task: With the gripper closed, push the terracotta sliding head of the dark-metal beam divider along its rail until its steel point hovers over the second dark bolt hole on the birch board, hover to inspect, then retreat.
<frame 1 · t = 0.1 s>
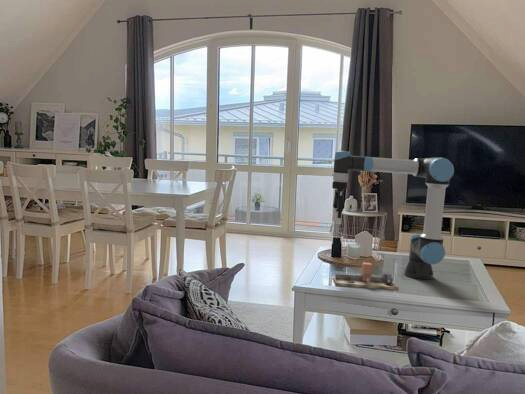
hand: (336, 222, 249), 28 cm above the table, fingers open, 13 cm apart
bolt board: (364, 284, 238), on the table
sliding head: (367, 272, 238), point 6 cm above the table, slide at -1.0 cm
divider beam: (364, 284, 238), resting on bolt board
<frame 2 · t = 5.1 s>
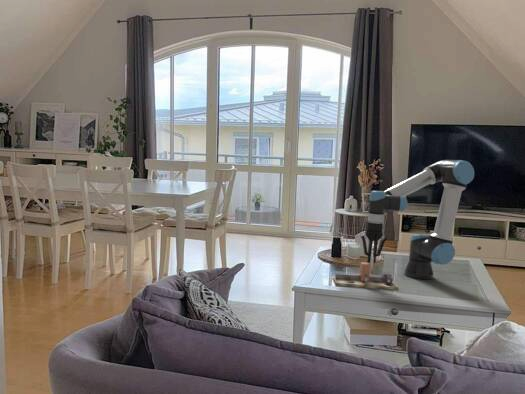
hand: (370, 269, 240), 7 cm above the table, fingers closed
sliding head: (365, 272, 238), point 6 cm above the table, slide at -0.2 cm, touching gripper
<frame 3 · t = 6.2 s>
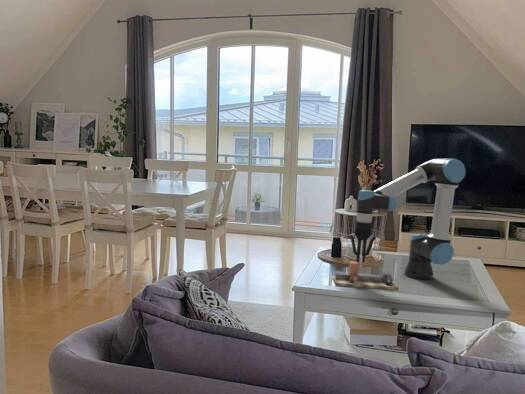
hand: (359, 268, 240), 7 cm above the table, fingers closed
sliding head: (354, 271, 238), point 6 cm above the table, slide at 5.3 cm, touching gripper
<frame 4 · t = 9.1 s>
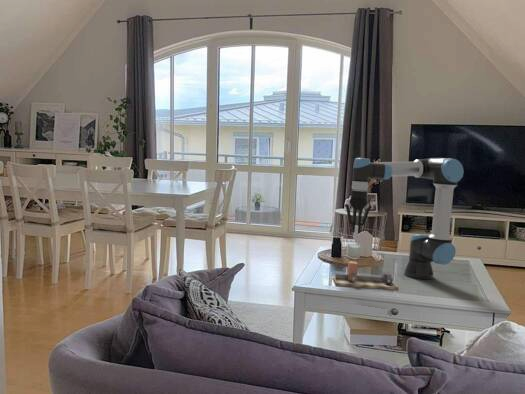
hand: (355, 239, 234), 22 cm above the table, fingers closed
sliding head: (352, 271, 238), point 6 cm above the table, slide at 6.0 cm
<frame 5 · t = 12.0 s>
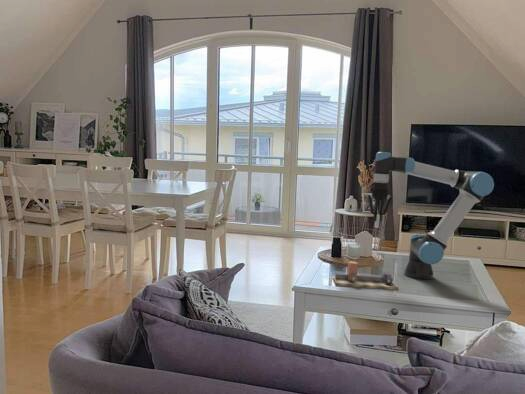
hand: (376, 227, 251), 26 cm above the table, fingers closed
nothing on the table moved.
at the end: sliding head slide at 6.0 cm; sliding head moved 7.0 cm from its start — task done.
